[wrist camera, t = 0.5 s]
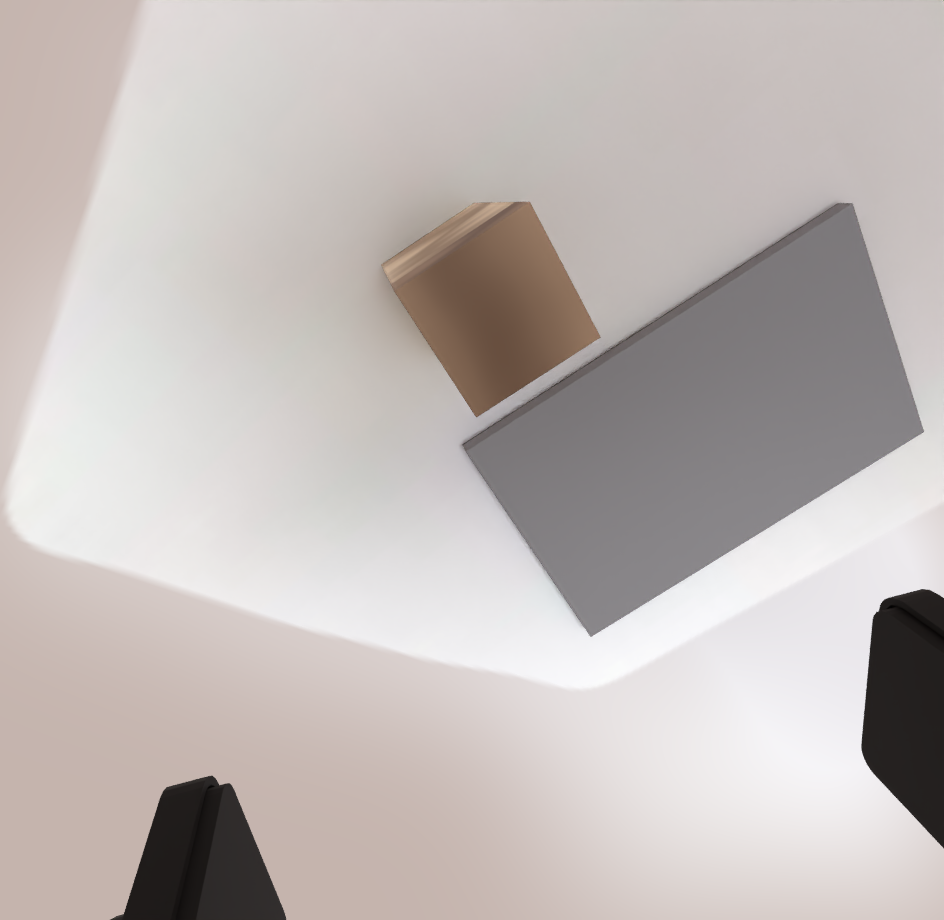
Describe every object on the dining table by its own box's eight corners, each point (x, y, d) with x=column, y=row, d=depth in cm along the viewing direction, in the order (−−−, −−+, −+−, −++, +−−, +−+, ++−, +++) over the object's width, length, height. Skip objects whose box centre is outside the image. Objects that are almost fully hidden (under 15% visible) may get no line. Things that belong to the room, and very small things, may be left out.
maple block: (474, 202, 29) (529, 201, 20) (527, 298, 31) (600, 337, 22) (381, 264, 30) (394, 291, 20) (440, 355, 32) (476, 417, 22)
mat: (838, 203, 32) (852, 203, 31) (909, 426, 38) (923, 431, 37) (462, 444, 33) (465, 451, 32) (585, 626, 39) (590, 636, 38)
